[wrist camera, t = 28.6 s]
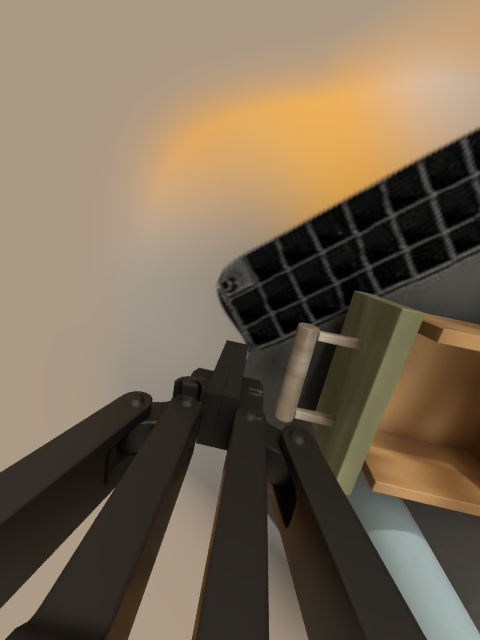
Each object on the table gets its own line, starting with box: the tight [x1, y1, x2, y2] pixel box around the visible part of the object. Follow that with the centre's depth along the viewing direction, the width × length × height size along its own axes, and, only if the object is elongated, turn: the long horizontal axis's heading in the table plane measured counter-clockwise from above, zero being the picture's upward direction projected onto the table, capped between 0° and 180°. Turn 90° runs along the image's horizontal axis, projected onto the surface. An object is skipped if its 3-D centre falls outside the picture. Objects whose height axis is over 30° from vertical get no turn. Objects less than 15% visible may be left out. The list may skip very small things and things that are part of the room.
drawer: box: [274, 291, 480, 516], centre depth 17 cm, size 18×12×7 cm
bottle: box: [346, 469, 480, 640], centre depth 16 cm, size 5×5×16 cm
